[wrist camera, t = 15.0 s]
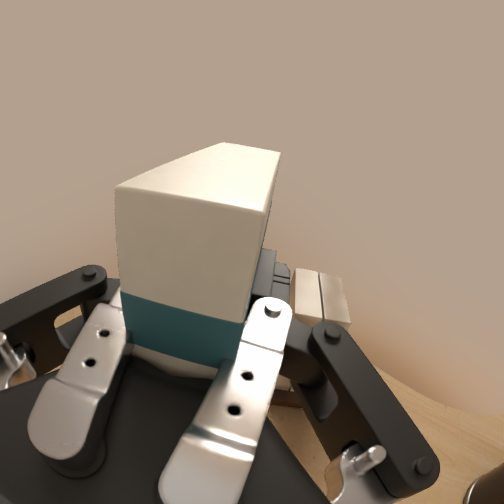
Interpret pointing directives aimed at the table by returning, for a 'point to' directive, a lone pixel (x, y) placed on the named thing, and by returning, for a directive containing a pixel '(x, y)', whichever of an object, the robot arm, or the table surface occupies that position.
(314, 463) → the table surface
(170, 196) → the white book
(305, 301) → the book rack
